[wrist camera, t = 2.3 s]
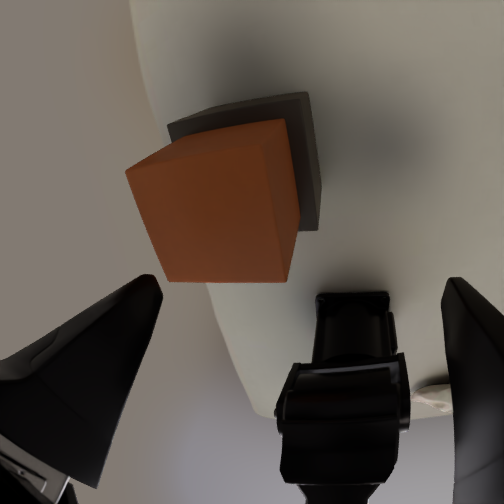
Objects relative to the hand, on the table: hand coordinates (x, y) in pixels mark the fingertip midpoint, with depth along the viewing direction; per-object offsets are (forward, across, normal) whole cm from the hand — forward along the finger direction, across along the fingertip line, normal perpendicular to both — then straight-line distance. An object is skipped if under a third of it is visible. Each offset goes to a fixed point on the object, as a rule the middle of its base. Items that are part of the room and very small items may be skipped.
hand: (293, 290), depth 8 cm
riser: (+13, +3, -1) cm, 13 cm away
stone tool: (+10, -27, +30) cm, 42 cm away
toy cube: (+7, +3, -1) cm, 8 cm away
